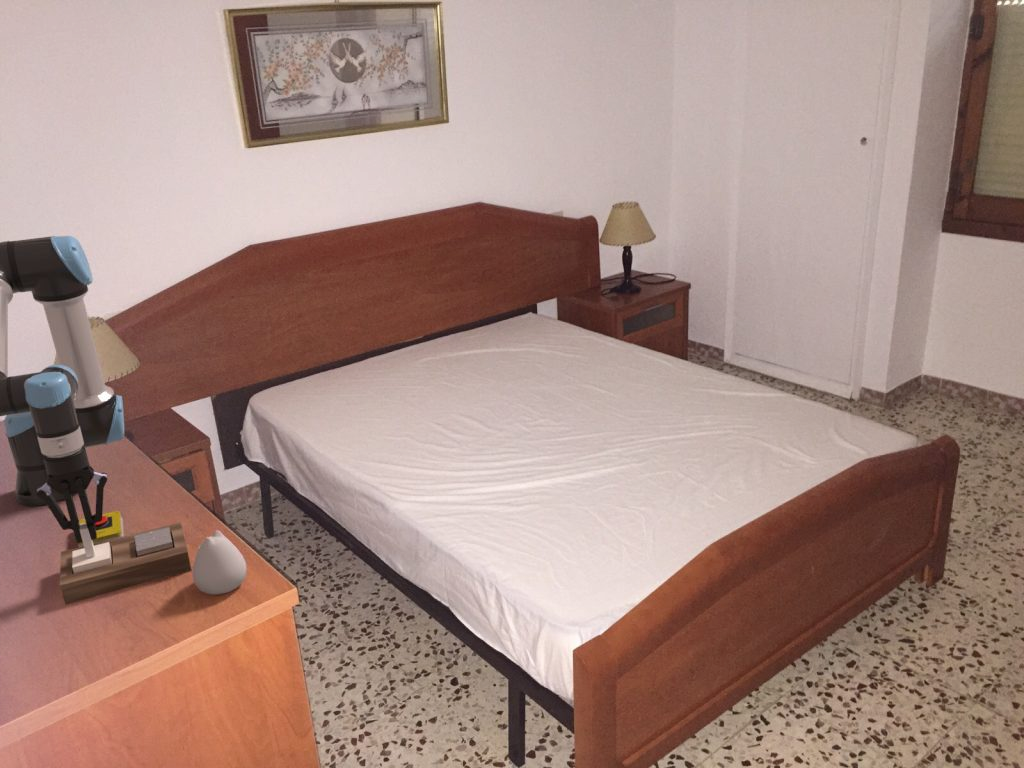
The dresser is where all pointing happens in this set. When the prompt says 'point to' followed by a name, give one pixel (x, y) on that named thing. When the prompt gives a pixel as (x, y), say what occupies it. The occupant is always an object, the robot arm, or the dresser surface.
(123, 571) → the brown wooden flat block
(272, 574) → the dresser surface
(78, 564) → the cream key
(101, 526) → the emergency button
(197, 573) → the toy character
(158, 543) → the steel key
